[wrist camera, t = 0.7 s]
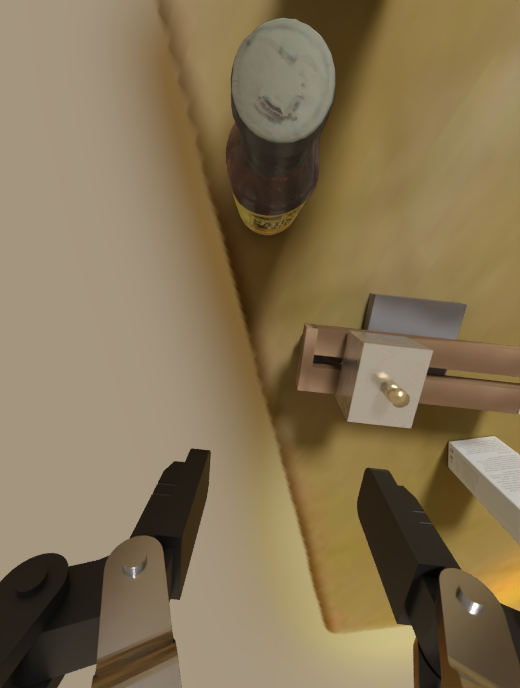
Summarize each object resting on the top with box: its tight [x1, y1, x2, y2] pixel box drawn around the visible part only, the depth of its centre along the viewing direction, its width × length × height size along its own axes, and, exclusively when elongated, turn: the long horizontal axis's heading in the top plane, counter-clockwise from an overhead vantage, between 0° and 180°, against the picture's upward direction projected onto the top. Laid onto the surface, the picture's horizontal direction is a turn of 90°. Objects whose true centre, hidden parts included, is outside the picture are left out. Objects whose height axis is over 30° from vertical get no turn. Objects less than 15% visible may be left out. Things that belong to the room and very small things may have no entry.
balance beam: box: [296, 293, 520, 414], centre depth 29 cm, size 12×26×9 cm, turn 84°
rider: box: [335, 331, 433, 428], centre depth 23 cm, size 6×5×8 cm
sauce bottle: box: [226, 18, 335, 235], centre depth 20 cm, size 6×6×20 cm
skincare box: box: [448, 436, 520, 545], centre depth 31 cm, size 6×4×12 cm
